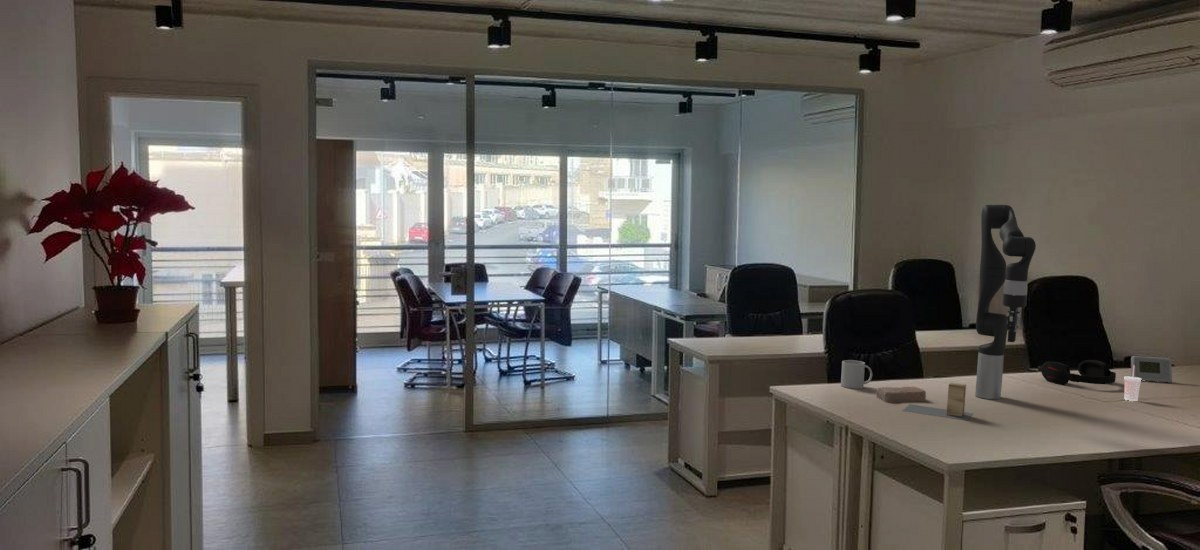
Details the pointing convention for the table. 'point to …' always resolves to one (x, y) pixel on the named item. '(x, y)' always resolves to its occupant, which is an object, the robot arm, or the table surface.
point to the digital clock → (1152, 368)
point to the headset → (1088, 372)
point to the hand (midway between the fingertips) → (1011, 341)
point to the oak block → (956, 399)
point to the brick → (901, 394)
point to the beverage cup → (1132, 387)
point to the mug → (854, 374)
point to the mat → (934, 412)
